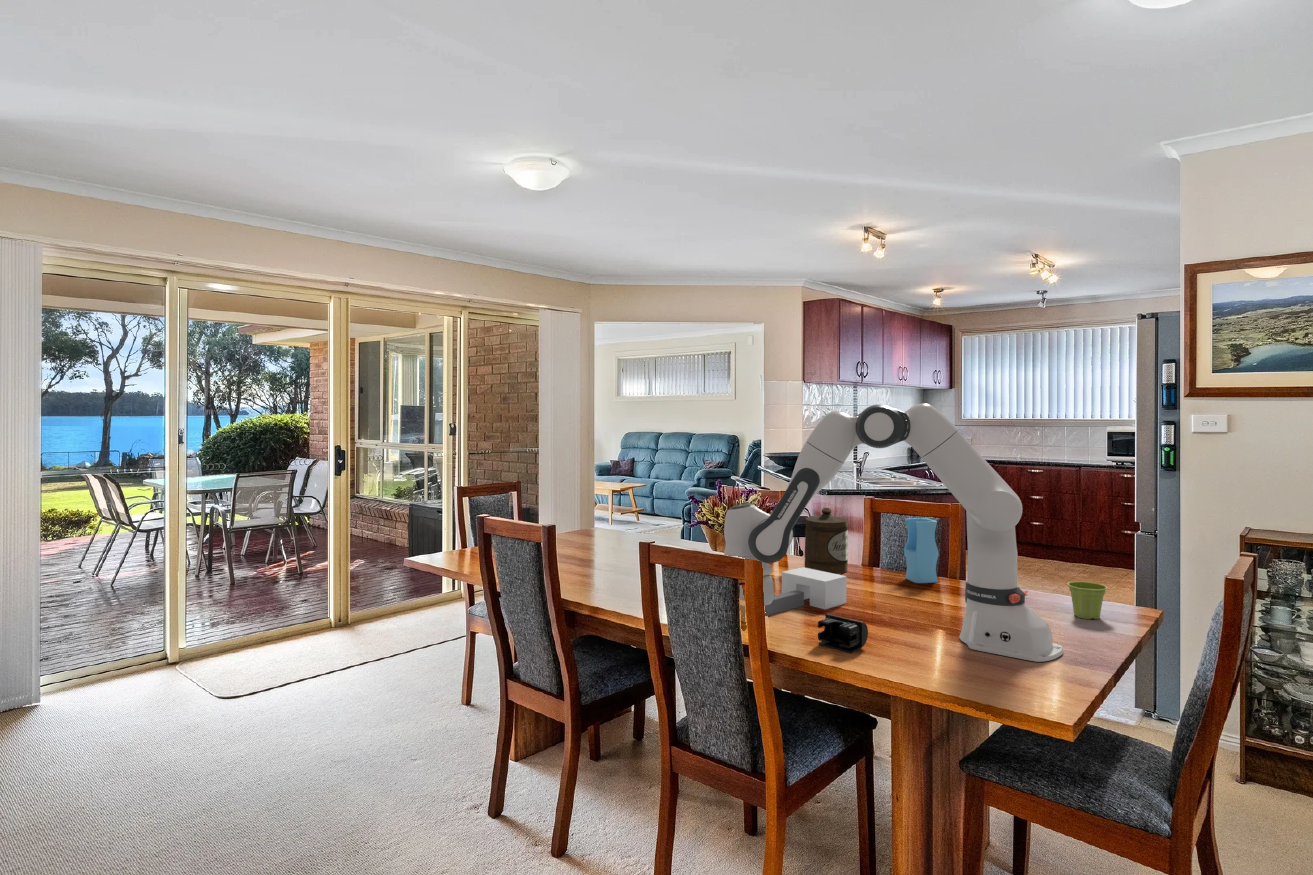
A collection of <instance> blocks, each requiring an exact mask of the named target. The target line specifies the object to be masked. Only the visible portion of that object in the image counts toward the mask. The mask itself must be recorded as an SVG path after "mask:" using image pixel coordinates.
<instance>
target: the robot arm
mask: <svg viewBox="0 0 1313 875" xmlns="http://www.w3.org/2000/svg"><path fill="white" fill-rule="evenodd" d="M900 442H904V443H907V445H909V446H910V447H911V448H912V449H914V451H915V452H916V454H917V455H918V456H919V457H920V458H921V459H922V461H923V462H924V463H925V464H926V465H927V467H929V469H930V470H931V471H932V472H933V474H935V476H937V478H938V479H939V480H940V481H941V483H942V484H943V485H944V487H945V488H947V490H948V491H949V492H950V493H951V494H952V495H953V497H954V498H955V499H956V500H957V501H958V503H959V504H960V505H961V506H962V508H964V510H965V511H966V536H967V540H966V542H967V580H966V581H965V587H964V589H965V590H964V600H965V602H964V603H965V604H966V605H965V613H964V620H963V624H962V628H961V631H960V634H959V640H960V641H962V642H963V643H965V644H966V645H967V647H968V648H969V649H970V650H973V651H974V650H975V651H979V652H984V653H989V654H994V655H999V656H1005V657H1009V658H1016V659H1020V660H1025V661H1030V662H1037V663H1038V662H1039V663H1041V662H1048V661H1052V660H1055V659H1057V658H1059V657H1061V656H1062V655H1063V654H1064V648H1063V646H1062V645H1061V644H1057V643H1054V642H1053V634H1052V631H1051V627H1050V625H1049V623H1048V622H1047V621H1046V620H1045V619H1044V618H1042V617H1041V616H1040V615H1039V614H1037V613H1036V612H1035V610H1033V609H1032V608H1031V607H1030V606H1029V605H1027V604H1026V599H1025V598H1026V597H1027V596H1028V595H1029V594H1028V592H1029V591H1028V590H1025V591H1023V590H1022V589H1021V588H1020V587H1019V586H1018V547H1017V546H1018V545H1017V535H1016V526H1017V524H1018V523H1019V522H1020V520H1021V518H1022V516H1023V504H1022V500H1021V499H1020V497H1019V496H1018V494H1017V493H1016V492H1015V491H1014V490H1013V489H1012V488H1011V486H1009V484H1008V483H1007V482H1006V481H1005V479H1003V478H1002V477H1001V475H1000V474H999V473H998V472H997V471H996V470H995V468H993V467H992V466H991V465H990V464H989V462H988V461H986V459H985V457H983V456H982V455H981V453H979V451H977V449H976V448H975V447H974V446H973V445H972V444H971V442H970V441H969V440H968V439H967V438H966V437H965V435H963V433H962V432H961V431H960V430H959V429H958V427H956V425H954V423H953V422H952V421H951V420H950V419H949V418H947V416H946V415H945V414H943V413H942V412H941V411H940V410H938V409H937V408H935V407H934V406H933V405H931V403H930V404H929V403H926V402H923V403H918V404H915V405H913V406H911V407H910V408H908V409H907V410H905V411H903V410H900V409H897V408H894V407H892V406H889V405H886V404H881V403H879V404H878V403H877V404H871V405H869V406H868V407H866V408H864V409H863V410H862V411H861V412H860V413H858V414H857V415H850V414H848V413H846V412H843V411H838V410H837V411H835V410H833V411H830V412H828V413H827V414H826V415H825V416H823V418H822V419H820V421H819V422H818V424H817V425H816V426H815V428H814V429H813V431H812V432H811V433H810V435H809V436H808V438H807V440H806V441H805V443H804V445H803V446H802V448H801V451H800V452H799V455H798V456H797V460H796V462H795V465H794V469H793V471H792V474H791V478H790V480H789V483H788V485H787V487H786V490H785V491H784V493H783V494H782V496H781V498H780V499H779V501H778V502H777V504H776V506H775V507H774V509H773V511H772V513H771V514H770V513H767V512H765V511H764V510H762V509H760V508H758V507H757V506H756V505H755V504H753V503H741V504H736V505H733V506H731V507H729V508H728V510H727V511H726V513H725V518H724V528H723V529H724V530H723V532H724V533H723V534H724V541H725V547H724V552H723V553H724V555H728V556H738V557H742V558H746V559H751V560H757V561H761V562H762V568H763V592H764V606H765V605H769V604H771V603H772V601H773V597H774V596H775V595H774V594H775V593H774V581H773V578H772V577H771V574H773V567H772V566H771V565H770V564H774V563H778V562H779V561H780V560H782V559H783V558H784V557H785V556H786V554H787V552H788V550H789V547H790V545H791V543H792V542H793V540H794V531H793V529H794V526H796V523H797V521H798V520H799V519H800V517H801V515H802V513H803V512H804V510H805V509H806V507H807V505H808V504H809V502H810V501H811V500H812V499H813V498H814V497H815V496H816V495H817V493H819V492H820V491H821V490H822V489H823V488H825V487H826V486H827V485H828V484H829V483H830V482H831V480H833V479H834V477H835V476H836V475H837V473H838V472H839V471H840V470H841V468H842V467H843V465H844V464H845V463H846V460H847V458H848V457H849V456H850V454H851V452H852V451H853V450H854V449H855V448H856V447H857V446H859V445H867V446H868V447H871V448H875V449H885V448H889V447H891V446H893V445H895V444H898V443H900ZM739 601H742V602H744V601H745V599H744V595H743V589H742V585H740V600H739Z"/></svg>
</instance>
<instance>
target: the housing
mask: <svg viewBox="0 0 1313 875" xmlns="http://www.w3.org/2000/svg"><path fill="white" fill-rule="evenodd" d="M847 582H848V581H847V576H846V575H843V574H833V573H829V572H824V571H819V570H814V569H809V568H805V566H803V567H797V568H793V569H788V570H784V571H781V594H783V593H787V592H790V591H794V590H797V591H801V592H804V601H805V600H808V599H809V606H811V607H814V608H817V609H818V608H819V609H822V610H828V609H832V608H835V607H839V606H842V605H845V604H847V584H848V583H847Z"/></svg>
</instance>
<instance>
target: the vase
mask: <svg viewBox="0 0 1313 875" xmlns="http://www.w3.org/2000/svg"><path fill="white" fill-rule="evenodd" d="M904 522H905V525H906V528H907V530H906V531H907V540H906V543H905V545H904V548H903V552H904V557H905V561H906V574H905V579H906V580H907V581H908V580H909V581H910V582H912V583H915V584H928V583H929V584H930V583H931V584H932V583H939V579H938V576H937V563H938V559H939V555H940V553H939V548H938V546H937V543H936V537H935V536H936V534H935V533H936V528H937V524H938V521H937V520H934V519H931V518H926V517H919V518H918V517H917V518H914V517H913V518H904Z"/></svg>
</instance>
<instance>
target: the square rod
mask: <svg viewBox="0 0 1313 875" xmlns="http://www.w3.org/2000/svg"><path fill="white" fill-rule="evenodd" d="M739 603H740V609H741V621H740V622H743V623H745V601H741V602H739ZM804 606H805V600H804V592H801V591H797V590H794V591H790V592H787V593H783V594H782V593H779V594H775V595H774V597H773V601H772V603H771V604H769V605H765V612H766V613H765V616H766V617H768V616H771V615H775V614H776V615H777V614H780V613H783V612H786V611H789V610H794V609H797V608H801V607H804ZM743 617H744V618H743Z"/></svg>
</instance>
